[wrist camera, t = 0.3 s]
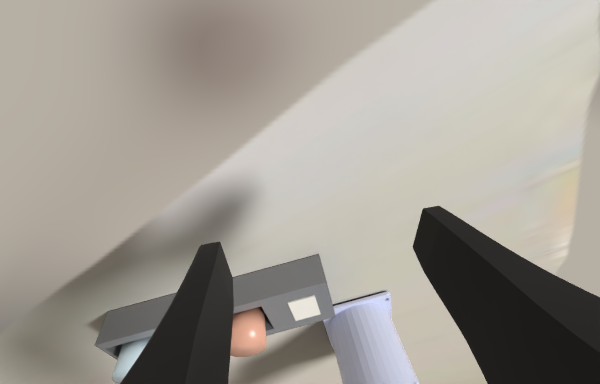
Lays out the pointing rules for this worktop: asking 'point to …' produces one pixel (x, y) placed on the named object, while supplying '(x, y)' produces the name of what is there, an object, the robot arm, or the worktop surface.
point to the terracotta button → (248, 333)
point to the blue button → (128, 358)
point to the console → (237, 303)
